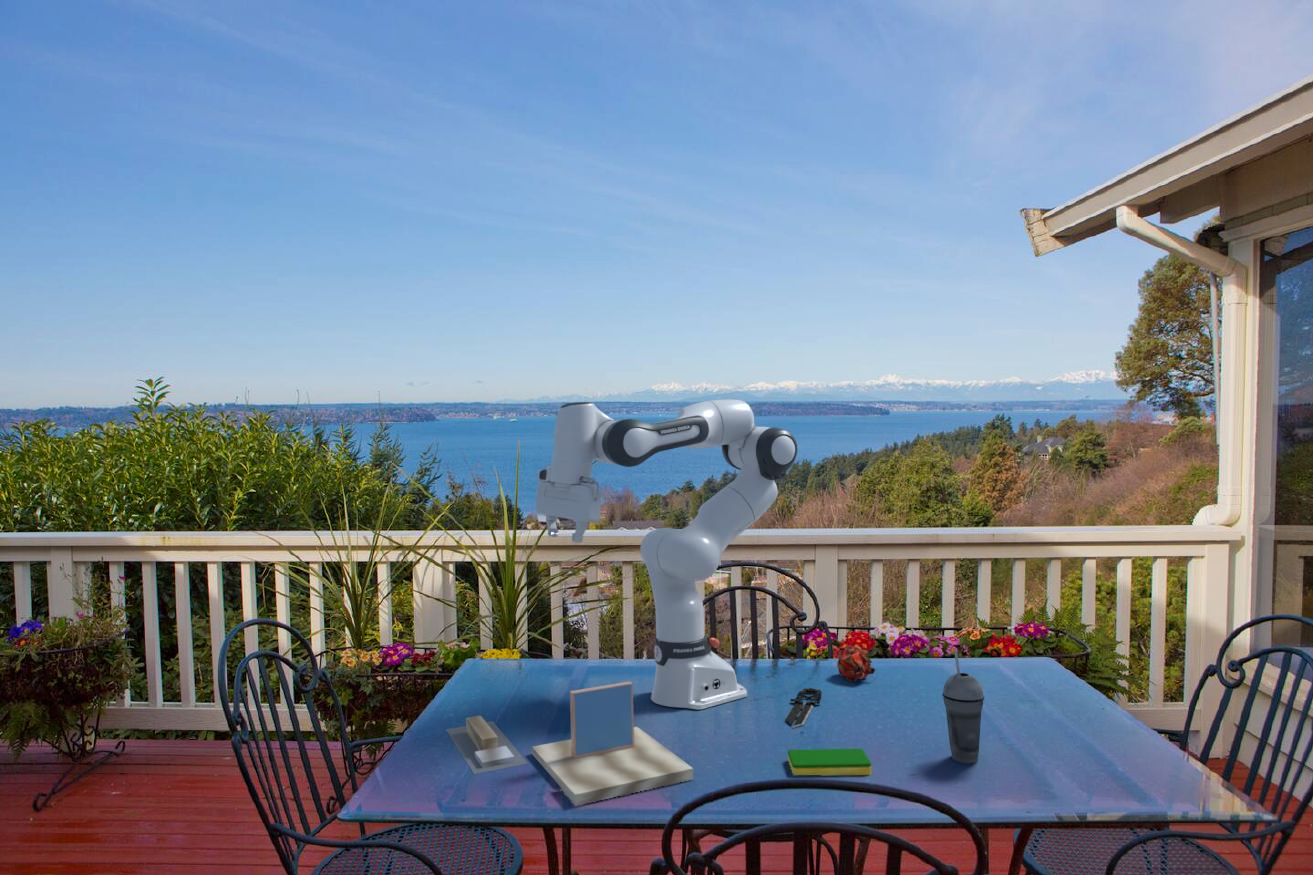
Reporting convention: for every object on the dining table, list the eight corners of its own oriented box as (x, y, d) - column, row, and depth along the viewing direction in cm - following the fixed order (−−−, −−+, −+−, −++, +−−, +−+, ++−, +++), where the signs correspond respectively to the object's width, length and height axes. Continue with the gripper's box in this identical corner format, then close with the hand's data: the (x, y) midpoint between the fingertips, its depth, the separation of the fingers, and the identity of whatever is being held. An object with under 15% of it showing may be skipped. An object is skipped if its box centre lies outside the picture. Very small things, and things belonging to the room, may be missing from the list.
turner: (487, 728, 170) (487, 714, 170) (514, 761, 152) (514, 745, 152) (459, 733, 167) (458, 719, 167) (482, 767, 149) (482, 751, 149)
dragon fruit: (853, 677, 207) (862, 698, 195) (825, 658, 207) (833, 679, 195) (873, 651, 206) (883, 671, 194) (845, 632, 205) (854, 651, 194)
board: (637, 736, 165) (636, 726, 165) (693, 779, 143) (693, 768, 143) (532, 757, 155) (531, 746, 155) (575, 806, 134) (575, 794, 134)
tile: (630, 744, 155) (629, 681, 155) (634, 746, 154) (632, 683, 154) (571, 756, 150) (569, 691, 150) (574, 759, 149) (572, 693, 149)
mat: (492, 723, 174) (492, 721, 174) (528, 766, 151) (528, 763, 151) (445, 732, 170) (445, 729, 170) (474, 777, 146) (474, 774, 146)
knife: (800, 732, 166) (799, 725, 166) (769, 727, 169) (769, 721, 169) (829, 695, 189) (829, 689, 189) (802, 692, 192) (802, 686, 192)
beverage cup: (982, 769, 145) (979, 656, 145) (939, 761, 148) (936, 651, 148) (989, 755, 151) (986, 647, 151) (948, 748, 155) (946, 642, 155)
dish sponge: (787, 762, 151) (787, 749, 151) (862, 760, 151) (862, 747, 151) (793, 778, 144) (792, 764, 144) (871, 777, 144) (871, 763, 144)
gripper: (611, 479, 170) (604, 545, 170) (557, 473, 186) (551, 533, 185) (586, 477, 166) (580, 545, 166) (533, 471, 182) (527, 533, 181)
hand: (564, 539), depth 176 cm, fingers open, 8 cm apart
